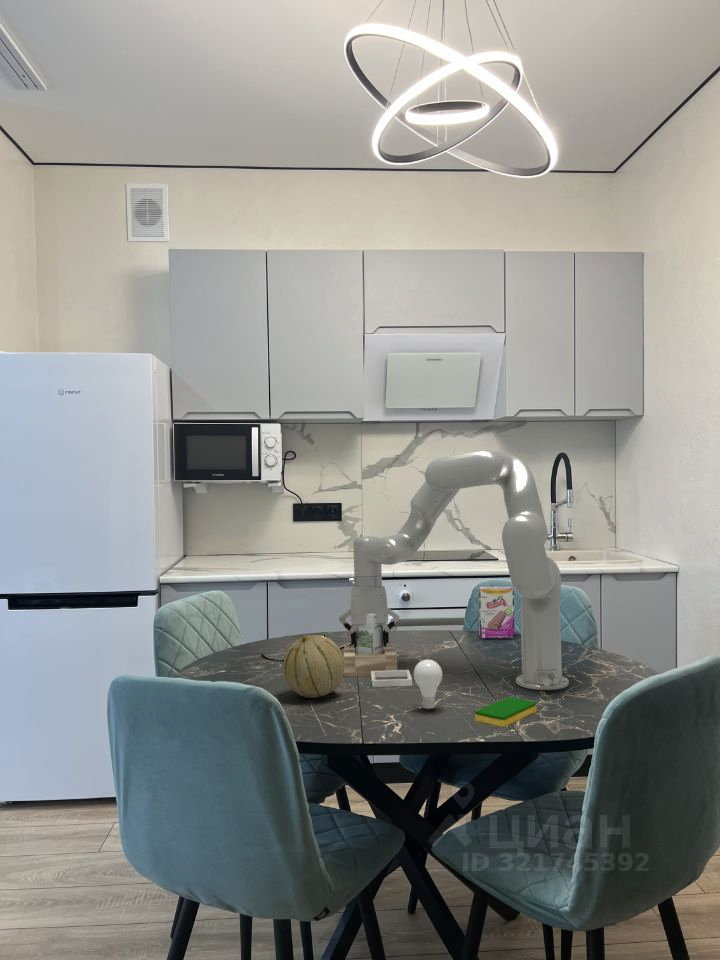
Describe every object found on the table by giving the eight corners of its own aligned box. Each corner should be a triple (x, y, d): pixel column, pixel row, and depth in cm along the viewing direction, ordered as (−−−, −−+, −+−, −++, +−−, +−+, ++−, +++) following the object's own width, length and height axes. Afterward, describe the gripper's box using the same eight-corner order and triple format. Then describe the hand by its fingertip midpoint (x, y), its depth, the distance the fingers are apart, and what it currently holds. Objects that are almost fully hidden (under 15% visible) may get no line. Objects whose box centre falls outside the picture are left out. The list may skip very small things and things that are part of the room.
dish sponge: (474, 722, 156) (474, 711, 156) (509, 707, 167) (508, 696, 167) (503, 729, 152) (503, 717, 152) (537, 713, 162) (537, 702, 162)
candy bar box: (479, 640, 237) (478, 588, 237) (479, 636, 242) (477, 586, 242) (515, 639, 236) (514, 588, 236) (513, 636, 241) (512, 586, 241)
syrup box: (384, 663, 204) (384, 610, 204) (373, 668, 199) (373, 613, 199) (366, 661, 207) (366, 608, 207) (355, 665, 202) (355, 611, 202)
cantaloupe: (355, 691, 181) (353, 629, 181) (328, 708, 168) (326, 641, 168) (302, 686, 187) (300, 626, 187) (271, 702, 174) (270, 637, 174)
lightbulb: (415, 705, 168) (413, 656, 168) (443, 705, 168) (441, 656, 168) (414, 713, 162) (412, 663, 162) (443, 713, 161) (442, 663, 161)
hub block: (397, 674, 196) (396, 655, 196) (344, 676, 195) (343, 657, 196) (394, 662, 210) (393, 644, 210) (344, 663, 209) (344, 646, 210)
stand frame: (412, 685, 185) (412, 679, 185) (372, 686, 185) (372, 680, 185) (409, 675, 195) (408, 669, 195) (370, 676, 195) (370, 670, 195)
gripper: (336, 584, 199) (337, 650, 199) (400, 582, 199) (402, 648, 199) (336, 581, 206) (338, 644, 206) (399, 579, 207) (400, 642, 206)
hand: (369, 646), depth 203 cm, fingers closed on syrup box, 7 cm apart
